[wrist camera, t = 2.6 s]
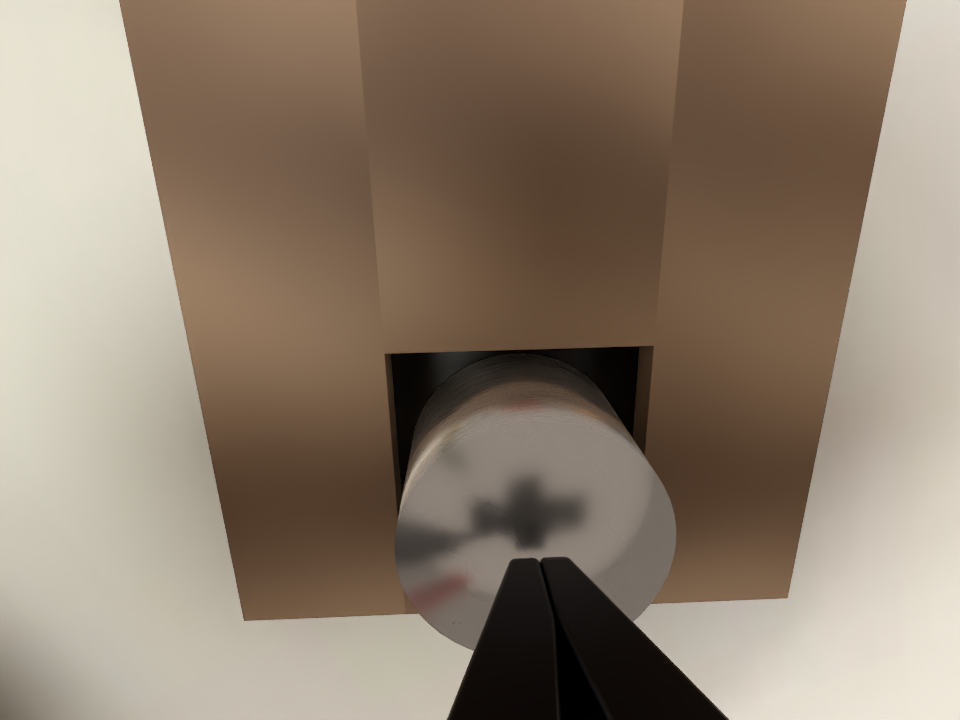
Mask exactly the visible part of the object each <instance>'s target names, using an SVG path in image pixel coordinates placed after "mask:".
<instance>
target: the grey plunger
mask: <svg viewBox="0 0 960 720" xmlns="http://www.w3.org/2000/svg"><path fill="white" fill-rule="evenodd" d="M675 547H676V523H675V515H674V511H673V508H672V504H671V501H670V498H669V496H668V494H667V492H666V489H665V487H664V485H663V484H662V482H661V481H660V479H659V477H658V476H657V474H656V473H655V471H654V470H653V468H652V467H651V465H650V464H649V462H648V461H647V459H646V458H645V456H644V455H643V453H642V452H641V450H640V449H639V447H638V446H637V444H636V443H635V441H634V440H633V438H632V436H631V435H630V433H629V432H628V430H627V429H626V427H625V426H624V424H623V423H622V421H621V420H620V418H619V417H618V415H617V414H616V412H615V411H614V409H613V408H612V406H611V405H610V403H609V402H608V400H607V399H606V397H605V396H604V394H603V393H602V391H601V390H600V389H599V388H598V387H597V386H596V385H595V383H594V382H593V381H592V380H590V379H589V378H588V377H587V376H586V375H584V374H583V373H582V372H580V371H579V370H577V369H575V368H574V367H572V366H570V365H568V364H566V363H563V362H561V361H559V360H556V359H553V358H549V357H546V356H540V355H534V354H517V353H516V354H505V355H499V356H494V357H490V358H486V359H483V360H481V361H478V362H475V363H473V364H471V365H469V366H467V367H465V368H463V369H461V370H459V371H458V372H457V373H455V374H454V375H452V376H451V377H449V378H448V379H447V380H446V381H445V382H444V383H442V384H441V385H440V386H439V387H438V388H437V390H436V391H435V392H434V393H433V394H432V395H431V397H430V398H429V400H428V401H427V403H426V404H425V406H424V407H423V409H422V411H421V414H420V416H419V418H418V420H417V424H416V427H415V430H414V435H413V440H412V446H411V451H410V457H409V462H408V467H407V473H406V478H405V484H404V489H403V495H402V500H401V505H400V511H399V516H398V522H397V528H396V534H395V562H396V568H397V573H398V576H399V579H400V582H401V585H402V587H403V589H404V591H405V593H406V595H407V597H408V599H409V601H410V602H411V603H412V605H413V606H414V608H415V609H416V610H417V612H418V613H419V614H420V615H421V616H422V617H423V618H424V619H425V620H426V621H427V622H428V624H430V625H431V626H432V627H433V628H435V629H436V630H437V631H438V632H440V633H441V634H442V635H444V636H446V637H447V638H449V639H450V640H452V641H454V642H456V643H458V644H460V645H462V646H464V647H466V648H468V649H471V650H475V648H476V645H477V642H478V640H479V637H480V635H481V632H482V630H483V627H484V625H485V622H486V620H487V617H488V615H489V612H490V610H491V607H492V605H493V602H494V599H495V597H496V594H497V592H498V589H499V587H500V584H501V582H502V579H503V577H504V574H505V572H506V569H507V567H508V564H509V562H510V561H511V560H512V559H517V558H536V559H538V560H539V562H540V560H541V559H542V558H544V557H568V558H570V559H571V560H572V561H573V562H574V563H575V564H576V565H577V566H578V567H579V568H580V569H581V570H582V571H583V572H584V573H585V574H586V575H587V576H588V577H589V578H590V579H591V580H592V581H593V582H594V583H595V584H596V585H597V586H598V587H599V588H600V589H601V590H602V591H603V592H604V593H605V594H606V595H607V596H608V597H609V598H610V599H611V600H612V602H613V603H614V604H615V605H616V606H617V607H618V608H619V609H620V610H621V611H622V612H623V613H624V614H625V615H626V616H627V617H628V618H629V619H630V620H631V621H632V622H633V621H634V620H635V619H636V618H637V617H638V616H640V615H641V614H642V612H643V611H644V610H645V609H646V608H647V607H648V606H649V605H650V604H651V602H652V601H653V600H654V598H655V597H656V595H657V594H658V592H659V591H660V589H661V587H662V586H663V584H664V582H665V580H666V578H667V576H668V573H669V570H670V567H671V564H672V562H673V557H674V552H675Z"/></svg>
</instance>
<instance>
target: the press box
mask: <svg viewBox="0 0 960 720" xmlns="http://www.w3.org/2000/svg"><path fill="white" fill-rule="evenodd" d="M906 1H907V0H119V2H120V7H121V12H122V17H123V22H124V27H125V32H126V37H127V42H128V47H129V52H130V57H131V62H132V67H133V71H134V76H135V81H136V86H137V91H138V96H139V101H140V106H141V111H142V116H143V121H144V126H145V131H146V136H147V141H148V146H149V151H150V156H151V161H152V166H153V171H154V176H155V181H156V186H157V191H158V196H159V201H160V206H161V210H162V215H163V220H164V225H165V230H166V235H167V240H168V245H169V250H170V255H171V260H172V265H173V270H174V275H175V280H176V285H177V290H178V295H179V300H180V305H181V310H182V315H183V320H184V325H185V330H186V335H187V340H188V345H189V350H190V354H191V359H192V364H193V369H194V374H195V379H196V384H197V389H198V394H199V399H200V404H201V409H202V414H203V419H204V424H205V429H206V434H207V439H208V444H209V449H210V454H211V459H212V464H213V469H214V474H215V479H216V484H217V489H218V493H219V498H220V503H221V508H222V513H223V518H224V523H225V528H226V533H227V538H228V543H229V548H230V553H231V558H232V563H233V568H234V573H235V578H236V583H237V588H238V593H239V598H240V603H241V608H242V613H243V618H244V621H250V620H274V619H298V618H322V617H346V616H370V615H394V614H418V612H417V610H416V609H415V608H414V606H413V605H412V603H411V602H410V601H409V599H408V597H407V595H406V593H405V591H404V589H403V587H402V585H401V582H400V579H399V576H398V573H397V568H396V562H395V534H396V528H397V522H398V516H399V511H400V505H401V500H402V495H403V489H404V485H401V481H400V468H399V455H398V442H397V429H396V416H395V403H394V390H393V377H392V364H391V354H392V353H426V352H460V351H493V350H527V349H561V348H594V347H628V346H640V348H639V360H638V373H637V386H636V399H635V412H634V425H633V440H634V441H635V443H636V444H637V446H638V447H639V449H640V450H641V452H642V453H643V455H644V456H645V458H646V459H647V461H648V462H649V464H650V465H651V467H652V468H653V470H654V471H655V473H656V474H657V476H658V477H659V479H660V481H661V482H662V484H663V485H664V487H665V489H666V492H667V494H668V496H669V498H670V501H671V504H672V508H673V511H674V515H675V523H676V547H675V552H674V557H673V562H672V564H671V567H670V570H669V573H668V576H667V578H666V580H665V582H664V584H663V586H662V587H661V589H660V591H659V592H658V594H657V595H656V597H655V598H654V600H653V601H652V602H651V604H658V603H682V602H706V601H730V600H754V599H778V598H788V593H789V588H790V583H791V578H792V573H793V568H794V563H795V558H796V553H797V548H798V543H799V538H800V532H801V527H802V522H803V517H804V512H805V507H806V502H807V497H808V492H809V487H810V482H811V477H812V472H813V467H814V462H815V457H816V452H817V447H818V442H819V437H820V432H821V427H822V422H823V417H824V412H825V407H826V402H827V397H828V392H829V387H830V382H831V377H832V372H833V367H834V362H835V357H836V352H837V347H838V342H839V337H840V332H841V327H842V322H843V317H844V312H845V307H846V302H847V297H848V292H849V287H850V282H851V277H852V272H853V267H854V262H855V257H856V252H857V247H858V242H859V237H860V232H861V227H862V222H863V217H864V212H865V207H866V202H867V197H868V192H869V187H870V182H871V177H872V172H873V167H874V162H875V157H876V152H877V147H878V142H879V137H880V132H881V127H882V122H883V117H884V112H885V107H886V102H887V97H888V92H889V87H890V82H891V77H892V72H893V67H894V62H895V56H896V51H897V46H898V41H899V36H900V31H901V26H902V21H903V16H904V11H905V6H906Z"/></svg>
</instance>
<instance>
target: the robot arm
mask: <svg viewBox="0 0 960 720" xmlns="http://www.w3.org/2000/svg"><path fill="white" fill-rule="evenodd" d="M447 720H729V719H728V718H727V717H726V716H725V715H724V714H723V713H722V712H721V711H720V710H719V709H718V708H717V707H716V706H715V705H714V704H713V703H712V702H711V701H710V700H709V699H708V698H707V697H706V696H705V695H704V694H703V693H702V692H701V691H700V690H699V689H698V688H697V687H696V686H695V685H694V684H693V683H692V681H691V680H690V679H689V678H688V677H687V676H686V675H685V674H684V673H683V672H682V671H681V670H680V669H679V668H678V667H677V666H676V665H675V664H674V663H673V662H672V661H671V660H670V659H669V658H668V657H667V656H666V655H665V654H664V653H663V652H662V651H661V650H660V649H659V648H658V647H657V646H656V645H655V644H654V643H653V642H652V641H651V640H650V639H649V638H648V637H647V636H646V635H645V634H644V633H643V632H642V631H641V630H640V629H639V628H638V627H637V626H636V625H635V624H634V623H633V622H632V621H631V620H630V619H629V618H628V617H627V616H626V615H625V614H624V613H623V612H622V611H621V610H620V609H619V608H618V607H617V606H616V605H615V604H614V603H613V602H612V600H611V599H610V598H609V597H608V596H607V595H606V594H605V593H604V592H603V591H602V590H601V589H600V588H599V587H598V586H597V585H596V584H595V583H594V582H593V581H592V580H591V579H590V578H589V577H588V576H587V575H586V574H585V573H584V572H583V571H582V570H581V569H580V568H579V567H578V566H577V565H576V564H575V563H574V562H573V561H572V560H571V559H570V558H568V557H544V558H542V559H541V560H540V562H539V560H538V559H536V558H517V559H512V560H511V561H510V562H509V564H508V567H507V569H506V572H505V574H504V577H503V579H502V582H501V584H500V587H499V589H498V592H497V594H496V597H495V599H494V602H493V605H492V607H491V610H490V612H489V615H488V617H487V620H486V622H485V625H484V627H483V630H482V632H481V635H480V637H479V640H478V642H477V645H476V648H475V650H474V653H473V655H472V658H471V660H470V663H469V665H468V668H467V670H466V673H465V675H464V678H463V680H462V683H461V685H460V688H459V690H458V693H457V696H456V698H455V701H454V703H453V706H452V708H451V711H450V713H449V716H448V718H447Z"/></svg>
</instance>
